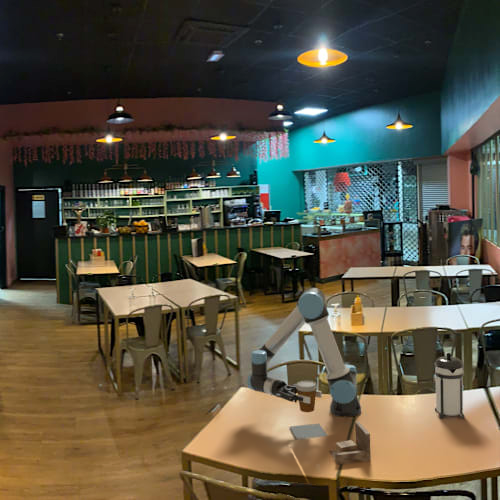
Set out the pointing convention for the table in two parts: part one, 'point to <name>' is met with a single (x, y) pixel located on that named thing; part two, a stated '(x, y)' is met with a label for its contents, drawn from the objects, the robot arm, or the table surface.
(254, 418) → the table surface
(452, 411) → the coffee press
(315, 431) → the slate mat
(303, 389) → the disposable coffee cup
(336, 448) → the offcut stack
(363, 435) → the offcut rack
